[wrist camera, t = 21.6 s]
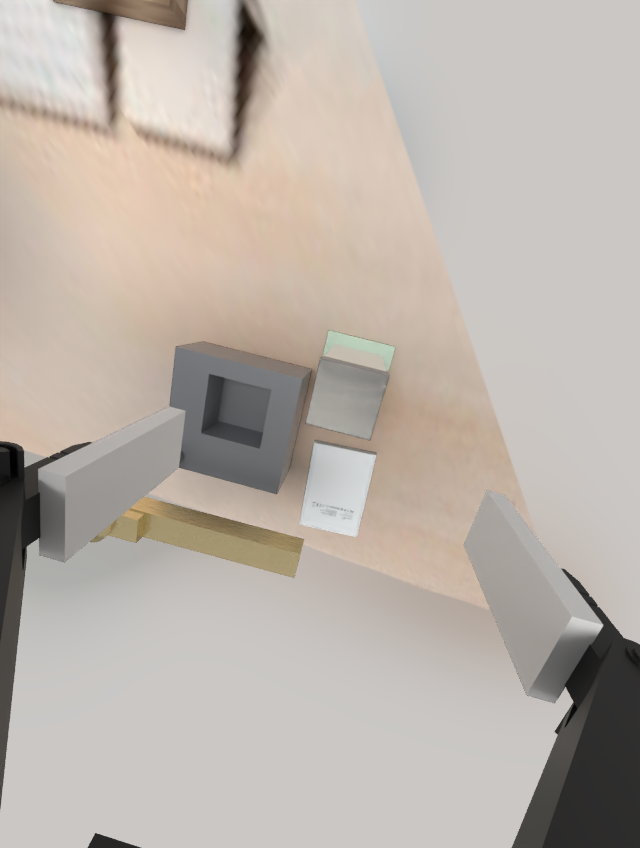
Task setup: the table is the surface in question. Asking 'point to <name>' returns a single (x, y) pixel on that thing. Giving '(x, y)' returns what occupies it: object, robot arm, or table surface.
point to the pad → (360, 345)
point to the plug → (348, 391)
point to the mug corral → (139, 9)
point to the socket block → (238, 413)
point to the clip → (207, 535)
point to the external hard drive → (337, 488)
